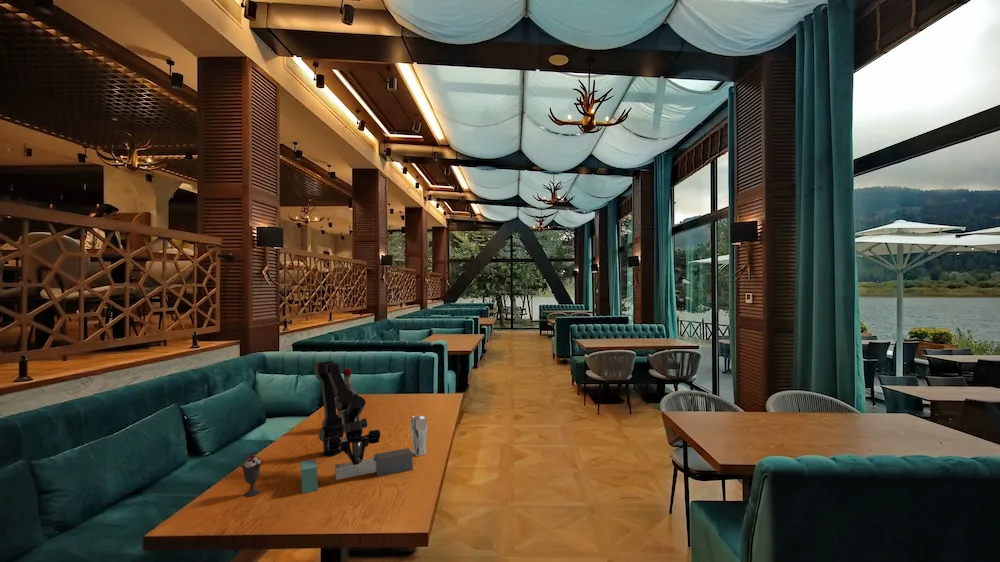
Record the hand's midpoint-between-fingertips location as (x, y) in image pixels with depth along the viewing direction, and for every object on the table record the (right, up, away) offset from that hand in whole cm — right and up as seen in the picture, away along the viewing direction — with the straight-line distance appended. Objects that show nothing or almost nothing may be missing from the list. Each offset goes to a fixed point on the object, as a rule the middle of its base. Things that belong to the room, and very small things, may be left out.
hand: (357, 461), depth 170 cm
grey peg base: (+4, -5, +3) cm, 7 cm away
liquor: (-24, -9, +64) cm, 69 cm away
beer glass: (+19, -7, +25) cm, 32 cm away
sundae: (-33, -8, -10) cm, 36 cm away
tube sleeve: (+12, -6, +7) cm, 15 cm away
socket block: (-15, -7, -6) cm, 18 cm away
